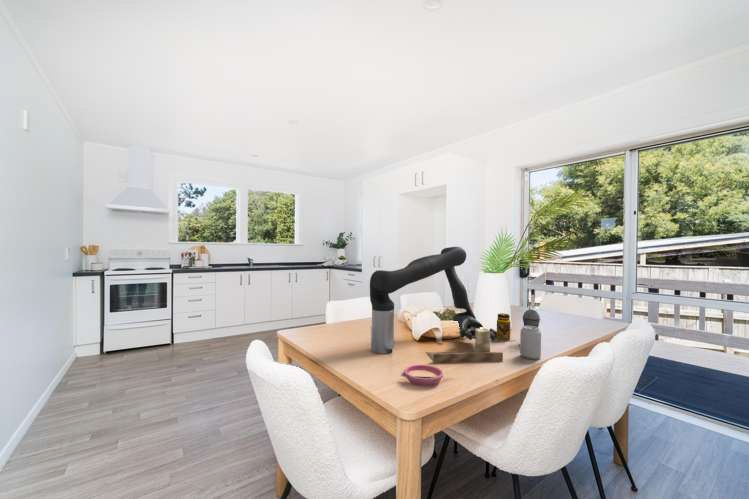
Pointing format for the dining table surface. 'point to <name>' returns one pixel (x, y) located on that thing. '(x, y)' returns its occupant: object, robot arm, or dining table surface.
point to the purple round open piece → (423, 380)
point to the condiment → (503, 327)
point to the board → (465, 356)
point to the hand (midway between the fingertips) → (482, 337)
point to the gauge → (482, 340)
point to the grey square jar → (530, 342)
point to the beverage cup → (531, 317)
